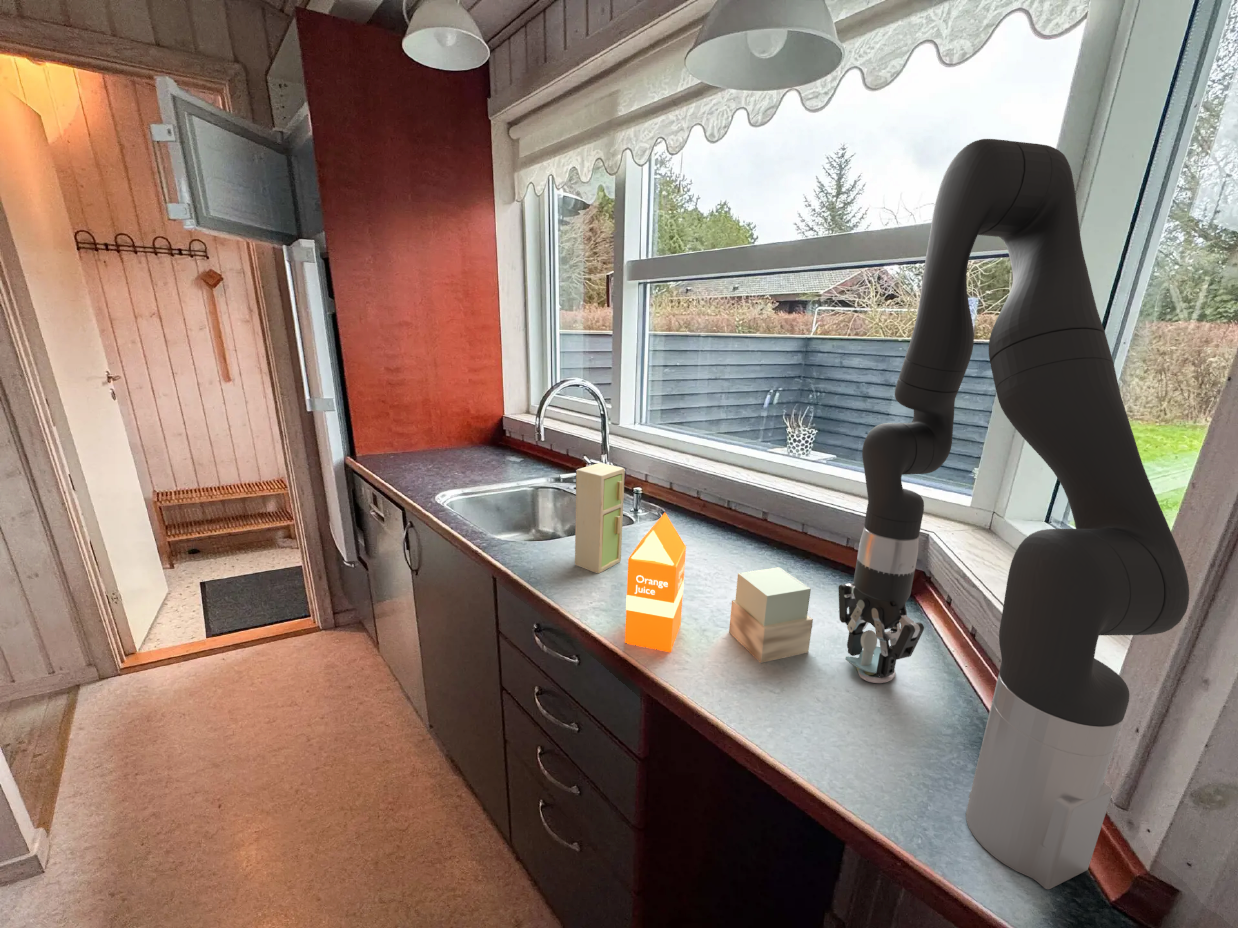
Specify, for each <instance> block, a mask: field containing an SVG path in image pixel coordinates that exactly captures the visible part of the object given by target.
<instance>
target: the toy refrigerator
mask: <svg viewBox="0 0 1238 928" xmlns="http://www.w3.org/2000/svg"><path fill="white" fill-rule="evenodd" d="M625 470H626V469H625V467H621V466H618V465H617V466H616V465H613V464H608V463H604V462H599V463H595V464H591V465H588V466H585V467H581V468H577V469H576V474H575V534H574V536H575V537H574V539H575V543H574V564H575V566H577V567H580V568H583V569H585V570H588V571H590V572H593V573H596V574H600V573H602V572H604V571H606V570H608V569H611V567H614V566H615V565H617V564H618V563H619V564H620V562H621V560H622V548H623V547H622V544H623V543H622V540H623V513H624V496H625V495H624V494H625V493H624V492H625V474H626V473H625Z"/></svg>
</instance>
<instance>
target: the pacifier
mask: <svg viewBox="0 0 1238 928" xmlns="http://www.w3.org/2000/svg"><path fill="white" fill-rule="evenodd" d="M863 632H864V633H863V634H862V636H861V645H862V647H863V649H862V652H861V653H860V654H859V655H858V657H856V656H845V660H846V661H847V662H848V663H850V664H851V665H853V666H854V667H855V668H856V670H857V673H858V676H859V677H860V678H861V679H862V680H865V681H866V682H869V683H874V684H882V683H883V684H884V683H888V682H890V681H892V680H893V679H894V678H895V676H896V675H897V674H896V670H894V673H893V674H892V675H890V676H887V677H883V678H881V677H879V676H873V675H875V674H876V672H877V666H878V660H879V655H880V653H881V648H880V646H877V645H878V639H877V637H876V631H874V630H870V629H869V630H866V631H863ZM876 675H877V674H876Z"/></svg>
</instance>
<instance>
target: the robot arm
mask: <svg viewBox="0 0 1238 928" xmlns="http://www.w3.org/2000/svg"><path fill="white" fill-rule="evenodd" d="M1075 188H1076V187H1075V183H1074V177H1073V173H1072V168H1071V165H1070V162H1069V161H1068V159H1067V157H1066V156H1065V154H1064V153H1063V152H1061V151H1060V150H1059V149H1058V148H1056V147H1053V146H1051V145H1046V144H1041V143H1040V144H1039V143H1033V142H1025V141H1023V142H1022V141H1017V140H1016V141H1014V140H1009V139H1007V140H1006V139H997V138H982V139H978V140H974V141H972V142H970V143H969V144H967V145H966V146H964V147H963V148H962V149H961V150H960V151H959V152H958V153H957V154H956V155H955V156H954V158H953V159H952V160H951V161H950V163H949V165H948V167H947V168H946V170H945V173H944V175H943V178H942V180H941V183H940V186H939V189H938V192H937V195H936V198H935V203H934V208H933V213H932V217H931V218H932V219H931V225H930V230H929V231H930V232H929V236H928V237H929V238H928V243H927V248H926V249H927V250H926V256H925V261H924V268H923V275H922V283H921V288H920V296H919V302H918V306H917V307H918V309H917V314H916V319H915V322H914V327H913V329H912V330H913V331H912V335H911V337H910V341H909V344H908V345H909V346H908V348H907V349H906V353H905V357H904V361H903V363H902V366H901V368H900V372H899V375H898V378H897V381H896V385H895V390H894V398H895V400H896V402H897V403H899V404H900V405H901V406H903V407H905V408H907V409H910V410H913V419H912V421H911V422H884V423H880V424H878V425H876V426H874V427H873V428H872V429H871V430H869V432H868V433H867V435H866V436H865V439H864V441H863V445H862V453H861V454H862V463H863V464H862V465H863V471H864V477H865V484H866V485H865V486H866V493H867V505H866V511H865V516H864V517H865V518H864V524H863V525H864V527H863V530H862V534H861V536H860V540H859V543H858V544H859V545H858V550H857V557H856V558H857V559H856V564H855V571H854V576H853V577H854V578H853V582H850V583H849V582H848V583H843V584H839V585H838V609H839V611H838V614H839V621H840V622H841V623H842V624H845V625H846V628H847V631H848V635H847V636H848V638H847V643H846V646H847V653H848V654H849V656H851V657H856V656H859V655H860V653H861V652H862V650H863V647H862V645H861V636H862V634H863V633H864V632H865V631H864V630H865V629H866V628H867V626H868V625H869V624H870V625H872V627H873V628H874V629H875V631H874V632H875V634H876V637H877V640H878V641H879V647H880V648H881V653H880V655H879V660H878V666H877V672H876V676H877V677H881V678H883V677H887V676H890V675H892V674H893V673H894V670H895V669H896V663H897V660H901V659H902V660H903V659H906V658H909V657H911V656H912V655H913V653H914V650H915V649H916V647H917V645H918V642H919V640H920V639H921V636H922V634H923V632H924V629H925V626H924V624H923V623H922V622H920V621H919V622H914V621H913V620H912V619H911V618H910V617H909V616H908V612H907V608H906V604H907V601H908V599H909V598H910V597H911V594H912V588H913V583H914V582H913V581H914V577H915V571H916V567H917V560H918V555H919V540H920V539H919V538H920V533H921V528H922V522H923V516H924V511H925V510H924V509H925V503H924V501H925V500H924V499H923V497H922V496H921V495H920V494H919V493H917V492H915V491H913V490H909V489H906V488H903V483H902V476H903V475H925V474H930V473H933V472H936V470H938V469H939V468H940V467H942V465H943V464H944V463H945V462H946V460H947V459H948V458H949V455H950V453H951V450H952V445H953V435H954V434H953V432H954V421H955V420H954V419H955V404H956V403H955V402H956V398H957V396H958V393H959V390H960V388H961V386H962V382H963V380H964V378H965V375H966V372H967V369H968V366H969V364H970V361H971V357H972V355H973V349H974V341H975V332H974V324H973V319H972V313H971V312H972V311H971V308H970V304H969V303H970V302H969V296H968V288H967V287H968V285H967V284H968V283H967V274H968V266H969V265H968V264H969V261H970V257H971V253H972V251H973V248H974V245H975V242H976V240H977V237H978V236H984V237H985V236H987V237H995V238H996V237H997V238H998V237H999V238H1000V239H1001V240H1002V241H1003V242H1004V245H1005V246H1006V250H1007V252H1008V256H1009V259H1010V266H1011V271H1012V285H1011V288H1010V291H1009V294H1008V295H1007V298H1006V300H1005V302H1004V304H1003V305H1002V308H1001V310H1000V312H999V314H998V315H997V318H996V321H995V322H994V325H993V326H992V328H991V329H992V330H991V333H990V336H989V341H988V358H989V364H990V368H991V371H992V372H991V374H992V378H993V382H994V383H993V384H994V388H995V391H996V392H995V394H996V397H997V400H998V403H999V406H1000V409H1001V410H1002V412H1003V413H1004V415H1005V416H1006V418H1007V419H1008V422H1010V423H1011V425H1012V426H1013V427H1014V429H1015V430H1016V431H1017V432H1018V433H1019V435H1020V436H1021V437H1022V438H1023V439H1024V440H1025V441H1026V443H1027V444H1028V445H1029V446H1030V447H1031V448H1032V449H1033V450H1034V451H1035V453H1037V454H1038V455H1039V457H1041V459H1042V460H1043V461H1044V462H1045V464H1047V467H1049V468H1050V470H1051V471H1052V472H1053V473H1054V475H1055V477H1056V478H1057V480H1058V481H1059V483H1060V485H1061V487H1062V488H1063V490H1064V493H1065V496H1066V499H1067V502H1068V504H1069V507H1070V511H1071V514H1072V518H1073V521H1074V527H1075V528H1049V529H1048V528H1047V529H1041V530H1037V531H1035V532H1032V533H1030V534H1029V535H1028V536H1026V537H1025V538H1024V539H1023V540H1022V542H1021V543H1020V544H1019V545H1018V547H1017V549H1016V550H1015V552H1014V554H1013V557H1012V560H1011V563H1010V567H1009V569H1008V576H1007V580H1006V581H1007V582H1006V586H1005V587H1006V588H1005V593H1004V594H1005V595H1004V598H1003V599H1004V600H1003V607H1002V612H1001V619H1000V622H999V623H1000V624H999V631H998V643H999V650H1000V657H1001V663H1000V668H999V671H998V675H997V676H998V677H997V680H996V684H995V688H994V693H993V697H992V700H991V705H990V710H989V713H988V717H987V722H986V726H985V730H984V733H983V734H984V735H983V738H982V743H981V747H980V750H979V754H978V755H979V756H978V760H977V764H976V768H975V771H974V776H973V780H972V785H971V790H970V792H969V794H968V795H969V796H968V802H967V807H966V812H965V819H966V823H967V826H968V828H969V830H970V832H971V834H972V835H973V837H974V838H975V839H976V840H977V842H978V843H979V844H980V845H981V846H982V848H984V849H985V850H986V851H987V852H988V853H989V854H991V855H992V856H993V858H995V859H997V860H998V861H1000V862H1001V863H1002V864H1004V865H1005V866H1007V867H1008V868H1010V869H1011V870H1013V871H1016V872H1018V873H1020V874H1022V875H1024V876H1026V877H1029V878H1031V879H1033V880H1035V881H1036V882H1037V883H1038V884H1039V885H1040V886H1042V887H1043V888H1044V889H1045V890H1051V889H1052V888H1055V887H1057V886H1058V885H1061V884H1062V883H1065V882H1066V881H1069V880H1071V879H1072V878H1075V877H1076V876H1078V875H1080V874H1083V873H1084V872H1087V871H1088V870H1089V866H1090V863H1091V860H1092V857H1093V854H1094V852H1095V848H1096V845H1097V843H1098V838H1099V836H1100V832H1101V829H1102V826H1103V822H1104V820H1105V817H1106V813H1107V811H1108V808H1109V804H1110V802H1111V798H1112V795H1113V789H1112V788H1111V786H1109V785H1108V784H1107V783H1104V782H1105V780H1106V776H1107V772H1108V770H1109V765H1110V763H1111V760H1112V756H1113V753H1114V749H1115V747H1116V744H1117V741H1118V737H1119V734H1120V731H1121V727H1122V725H1123V722H1124V719H1125V715H1126V713H1127V709H1128V706H1129V702H1130V690H1129V687H1128V684H1127V683H1126V682H1125V680H1124V679H1123V678H1122V677H1121V675H1119V674H1118V672H1116V671H1114V670H1113V669H1112V668H1110V667H1109V666H1108V665H1106V664H1105V663H1104V662H1101V661H1100V660H1098V659H1097V658H1095V656H1096V649H1097V644H1098V641H1099V640H1098V639H1099V637H1100V636H1149V635H1150V636H1151V635H1157V634H1163V633H1166V632H1168V631H1170V630H1172V629H1174V627H1176V626H1177V625H1178V624H1179V623H1181V621H1182V619H1183V618H1184V616H1185V615H1186V613H1187V609H1188V606H1189V601H1190V584H1189V579H1188V578H1189V577H1188V574H1187V570H1186V567H1185V563H1184V561H1183V557H1182V555H1181V552H1180V550H1179V547H1178V545H1177V542H1176V540H1175V538H1174V536H1173V533H1172V530H1171V528H1170V526H1169V524H1168V522H1167V519H1166V516H1165V515H1164V512H1163V511H1162V508H1161V506H1160V503H1159V500H1158V499H1157V496H1156V494H1155V491H1154V489H1153V487H1152V484H1151V483H1150V479H1149V477H1148V474H1147V472H1146V470H1145V467H1144V464H1143V462H1142V458H1141V455H1140V452H1139V448H1138V446H1137V443H1136V442H1137V441H1136V439H1135V435H1134V433H1133V430H1132V427H1131V423H1130V421H1129V416H1128V413H1127V410H1126V408H1125V405H1124V400H1123V397H1122V395H1121V391H1120V386H1119V381H1118V377H1117V372H1116V368H1115V364H1114V360H1113V356H1112V352H1111V349H1110V345H1109V342H1108V339H1107V335H1106V331H1105V329H1104V326H1103V324H1102V319H1101V317H1100V314H1099V311H1098V307H1097V304H1096V300H1095V296H1094V291H1093V287H1092V283H1091V278H1090V276H1089V271H1088V266H1087V263H1086V259H1085V254H1084V249H1083V245H1082V239H1081V238H1082V237H1081V230H1080V223H1079V221H1080V220H1079V215H1078V204H1077V197H1076V189H1075ZM885 630H888V631H885ZM889 642H890V643H889ZM895 671H896V670H895Z"/></svg>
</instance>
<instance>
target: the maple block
mask: <svg viewBox="0 0 1238 928" xmlns="http://www.w3.org/2000/svg"><path fill="white" fill-rule="evenodd" d="M813 620H814V619H813V617H811V616H809V615H808V614H807V618H803V619H798V620H792V621H787V622H782V623H776V624H771V625H766V626H763V625H762V624H761V623H760V622H759V621H758V620H757V619H755V618H754V617H753V616H752V615H751V614H750V613H749V612H747V611H746V610H745V609H744V608H743V607H742V606H741V605H739V604H738V603H737V602H736V601H735V599H734V600H733V599H732V600H731V610H730V619H729V629H728V633H729V634H730V635H731V636H732V637H733V638H735V640H736V641H737V642H738V643H739V644H740V645H741V646H743V647H744V648H745V649H746V650H747V652H749V653H750V654H751V655H752V656H753V657H754V658H755V659H756V660H757V661H758V662H759V663H760V664H762V663H767V662H771V661H775V660H776V661H777V660H779V659H784V658H789V657H795V656H799V655H803V654H807V653H809V651H810V650H809V649H810V643H811V636H812V628H813V623H814V621H813Z"/></svg>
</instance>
